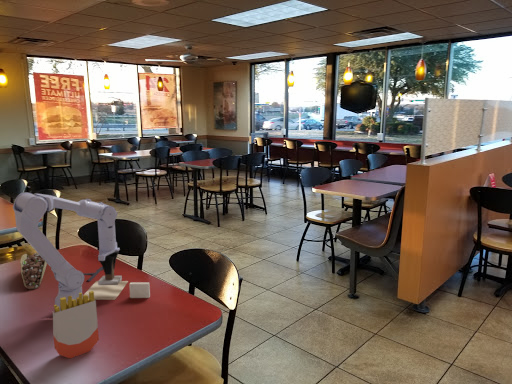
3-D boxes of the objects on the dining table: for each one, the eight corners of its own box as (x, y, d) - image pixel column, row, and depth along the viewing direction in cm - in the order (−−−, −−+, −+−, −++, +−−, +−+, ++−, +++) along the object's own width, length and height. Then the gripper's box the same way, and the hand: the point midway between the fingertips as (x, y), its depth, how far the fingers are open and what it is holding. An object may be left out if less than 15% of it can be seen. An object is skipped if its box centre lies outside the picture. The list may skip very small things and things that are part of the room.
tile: (149, 299, 145) (148, 284, 144) (130, 299, 145) (129, 284, 144) (150, 297, 147) (149, 282, 146) (131, 297, 147) (130, 282, 146)
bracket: (70, 270, 173) (69, 264, 173) (104, 270, 173) (103, 264, 173) (53, 284, 159) (52, 277, 159) (90, 284, 159) (89, 278, 159)
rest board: (115, 300, 144) (115, 299, 144) (79, 300, 144) (79, 299, 144) (128, 282, 160) (128, 281, 160) (96, 282, 160) (96, 281, 159)
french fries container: (55, 355, 112) (48, 296, 108) (93, 340, 119) (89, 284, 115) (59, 362, 108) (53, 302, 105) (99, 347, 116) (94, 290, 112)
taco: (53, 264, 179) (51, 242, 177) (46, 288, 154) (43, 264, 152) (29, 267, 175) (26, 245, 173) (18, 292, 151) (15, 267, 149)
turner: (117, 285, 144) (116, 264, 143) (98, 285, 144) (96, 264, 143) (121, 279, 149) (120, 259, 148) (103, 279, 149) (101, 259, 148)
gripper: (111, 243, 136) (114, 280, 139) (124, 231, 151) (126, 264, 153) (91, 243, 136) (94, 280, 139) (105, 231, 150) (107, 264, 153)
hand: (109, 272), depth 146 cm, fingers closed on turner, 2 cm apart
